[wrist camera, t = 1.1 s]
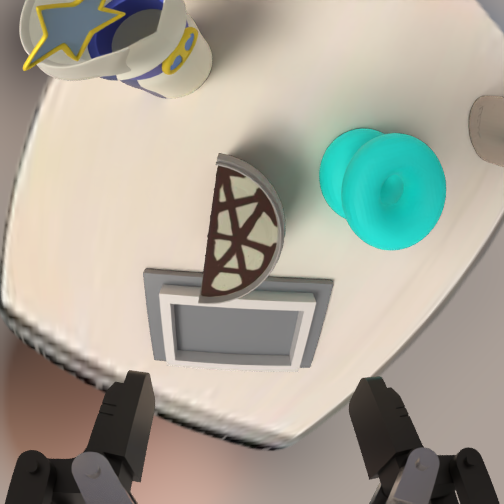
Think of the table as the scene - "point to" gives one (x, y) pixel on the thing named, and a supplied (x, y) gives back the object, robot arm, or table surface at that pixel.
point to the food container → (241, 232)
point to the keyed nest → (235, 323)
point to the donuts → (384, 186)
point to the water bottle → (117, 43)
